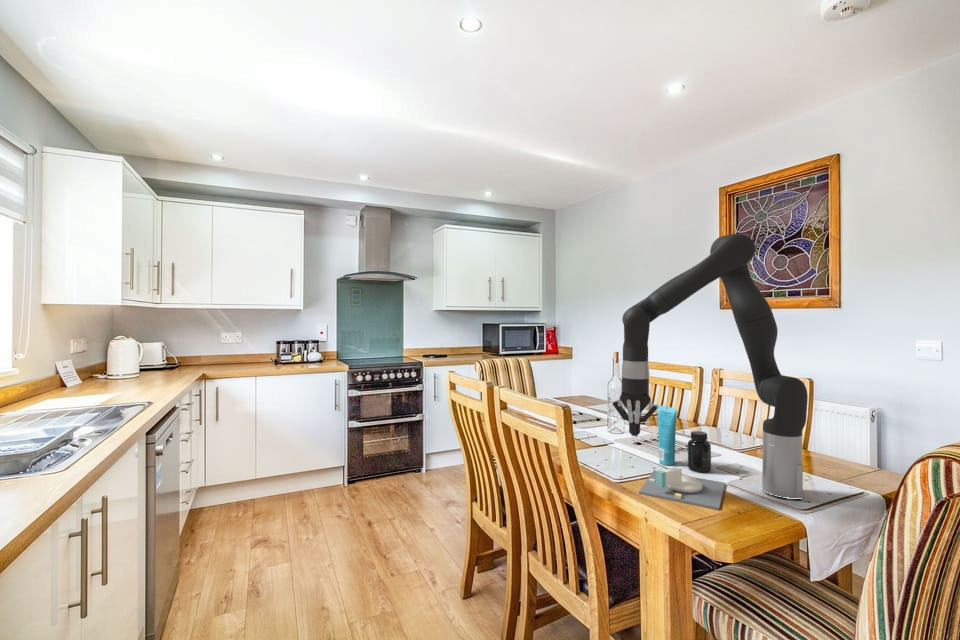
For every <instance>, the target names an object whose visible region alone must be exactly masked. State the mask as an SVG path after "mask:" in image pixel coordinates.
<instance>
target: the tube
mask: <svg viewBox="0 0 960 640" xmlns="http://www.w3.org/2000/svg"><path fill="white" fill-rule="evenodd" d="M656 405H657V406H658V409H657V410H656V411H657V422H658V423H657V424H658V425H657V429H658V460H659V461H658V462H659V464H662V465H665V466H674V465H675V464H676V429H677V415H678V408H677V407H676V408H675V407H669V406H664V405H659V404H656Z"/></svg>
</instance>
